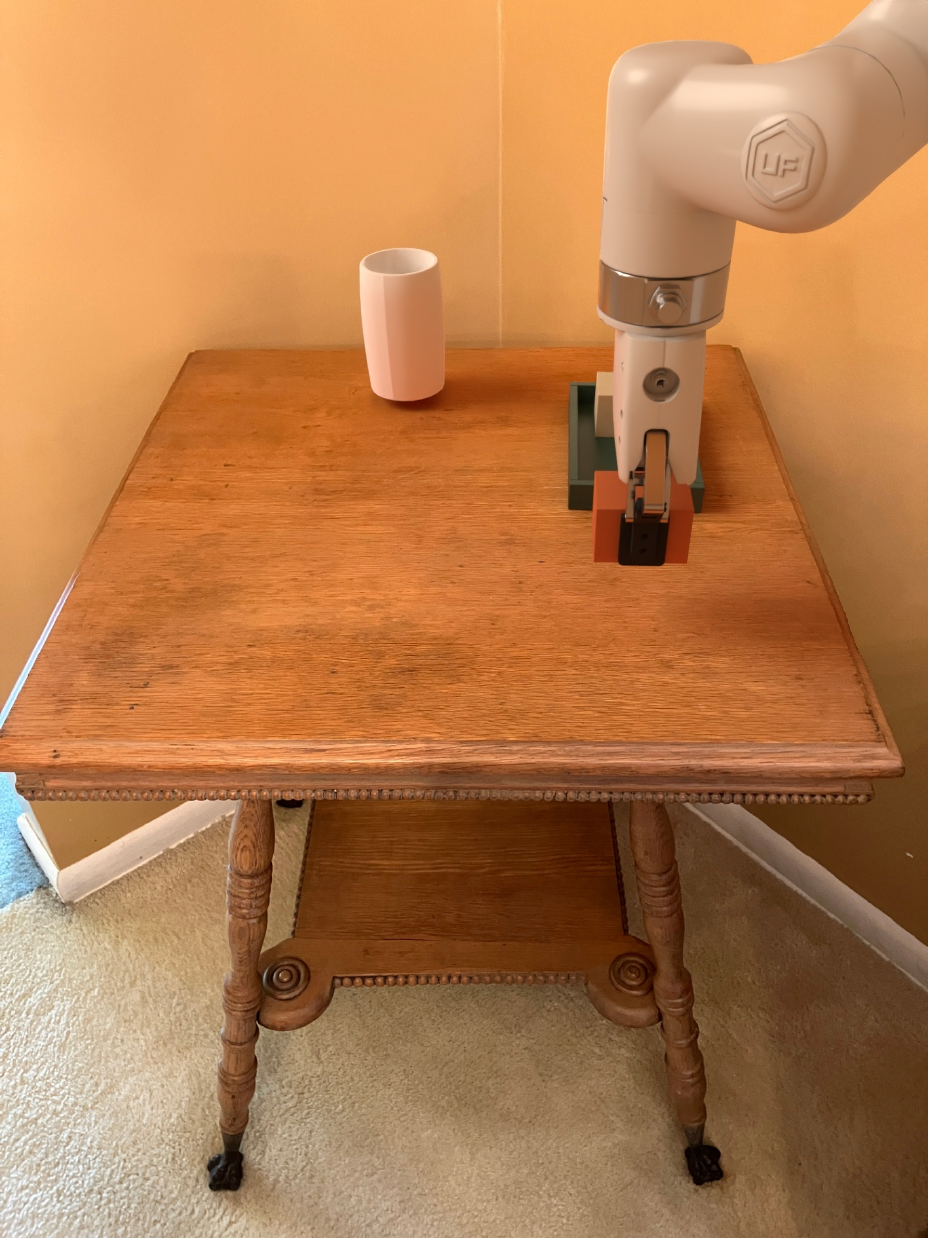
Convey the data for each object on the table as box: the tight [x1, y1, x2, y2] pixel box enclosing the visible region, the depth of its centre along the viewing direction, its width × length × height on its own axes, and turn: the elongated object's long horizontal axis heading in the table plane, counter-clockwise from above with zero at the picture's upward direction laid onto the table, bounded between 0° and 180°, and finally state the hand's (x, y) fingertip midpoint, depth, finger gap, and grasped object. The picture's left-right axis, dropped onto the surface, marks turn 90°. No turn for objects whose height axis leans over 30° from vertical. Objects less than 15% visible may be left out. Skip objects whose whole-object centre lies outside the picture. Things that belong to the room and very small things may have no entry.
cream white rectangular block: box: [594, 371, 615, 437], centre depth 90 cm, size 5×6×4 cm
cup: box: [359, 247, 446, 402], centre depth 94 cm, size 8×8×14 cm
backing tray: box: [567, 381, 706, 514], centre depth 87 cm, size 20×12×3 cm, turn 175°
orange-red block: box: [591, 471, 695, 565], centre depth 65 cm, size 5×6×4 cm
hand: (638, 537), depth 66 cm, fingers closed on orange-red block, 5 cm apart
